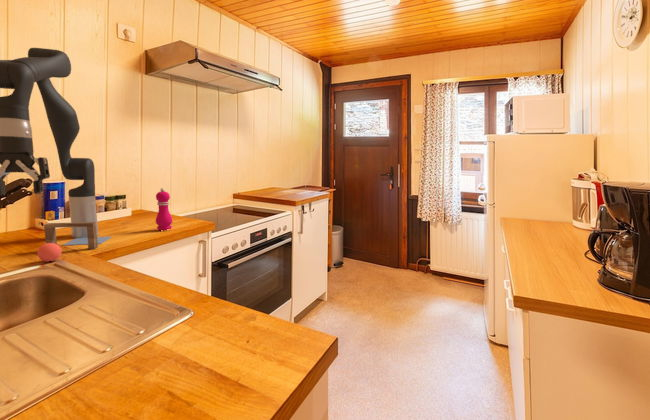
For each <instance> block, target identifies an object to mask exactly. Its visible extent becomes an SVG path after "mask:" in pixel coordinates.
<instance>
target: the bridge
mask: <svg viewBox="0 0 650 420" xmlns="http://www.w3.org/2000/svg"><path fill="white" fill-rule="evenodd" d="M71 227H87V237H88V244H87V246H88V250H91V251H92V250H96V249H97V248H99V244H98V242H97V237H98V235H97V229H96V222H74V223H71V222H48V223H44V224H43V228H44V237H45V244H46V243H54V244H57V245H58V243H57V232H56V231H57V230H56V229H57V228H71Z"/></svg>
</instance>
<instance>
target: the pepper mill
mask: <svg viewBox="0 0 650 420" xmlns="http://www.w3.org/2000/svg"><path fill="white" fill-rule="evenodd" d="M165 190H166V189H165V188H164V187H162V188H160V191H158V192H157V193H156V195H155V199H156V200H157V205H158V212H157V214H156V218H155V223H156V225H157V227H156V229H158V230H167V229H171V228H173V227H172V225H171V224H173V216H172V215H171V213H170V210H169V205H170V202H169V200H170V199H171V195H170V193H169V192H168V191H165ZM158 230H157V231H158Z"/></svg>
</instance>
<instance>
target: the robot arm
mask: <svg viewBox="0 0 650 420" xmlns="http://www.w3.org/2000/svg"><path fill="white" fill-rule="evenodd" d="M71 73H72V63H71V60H70V57H69V56H68V54H67V53H66V52H64V51H62V50H59V49H53V48H43V47H42V48H41V47H30V48H29V49H28V50H27V56H25V57H19V58H18V57H17V58H14V59H0V89H5V90H7V89H8V90H13V92H12V93H11V94H9V95H4V96H0V165H1V166H0V195H6V194H7V190H6V189H7V188H6V181H5V178H6V177H7V176H8V175H10V174H11V173H25V174H27V175H28V176H30V177H31V178H32V180H33V181H32V185H33V194H35V195H40V194H42V192H43V191H44V188H43V180H46V179H49V178H50V176H51V174H50V169H49V163H48V158H47V157H41V156H40V157H35V156H34V152H35V151H34V143H33V141H34V140H33V131H32V126H31V121H30V120H31V119H30V118H31V117H30V109H29V106H30V100H31V96H32V93H33V89H34V86H35V83H36V86H37V87H38V91H39V93H40V95H41V96H40V97H41V99H42V103H43V105H44V110H45V113H46V118H47V121H48V124H49V127H50V129H51V130H50V131H51V133H52V136H53V138H54V143H55V146H56V150H57V156H58V160H59V164H60V165H59V166H60V170H61V173H62V175H63V177H64V179H65V180H67V181H68V180H69V181H83V182H82V184H81V185H79V186H77V187H73V188H71V189H69V190H68V204H69V214H70V215H69V216H70V223H74V222H96V229H97V236H99V226H98V215H97V201H96V200H97V199H96V183H95V181H96V178H95V174H96V173H95V170H96V169H95V163H94V161H93V160H92V158H89V157H72V156H71V148H72V146H73V144H74V142H75V140H76V138H77V137H78V135H79V133H80V129H81V128H80V123H79V119H78V115H77V112H76V110H75V108H74V107H73V106H72V105H71V104H70V103H69V102H68V101H67V100H66V99H65V98H64V97H63V96H62V95H61V94H60V93H59V92H58V91H57V89H56V88H55V87H54V84H53V83H52V81H51V78H57V79H58V78H59V79H62V78H68V77H69V76H70V75H71ZM35 164H36V165H37V166H38V167H39V171H38V170H37V169H36V168H35V167H34V165H35ZM70 228H71V237H72V238H74V239H75V238H86V237H87V227H70Z"/></svg>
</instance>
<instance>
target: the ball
mask: <svg viewBox="0 0 650 420" xmlns="http://www.w3.org/2000/svg"><path fill="white" fill-rule="evenodd" d="M62 252H63V251H62V248H61V246H60V245H58V243H57V244H54V243H46V242H45V243H44V244H42V245H41V246H40V247H39V248H38V249H37V257H38V258H39V260H41V261H43V262H45V263H50V262H49V261H52V262H55V261H56V260H59V258H60V257H61V255H62ZM54 260H55V261H54Z"/></svg>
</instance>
